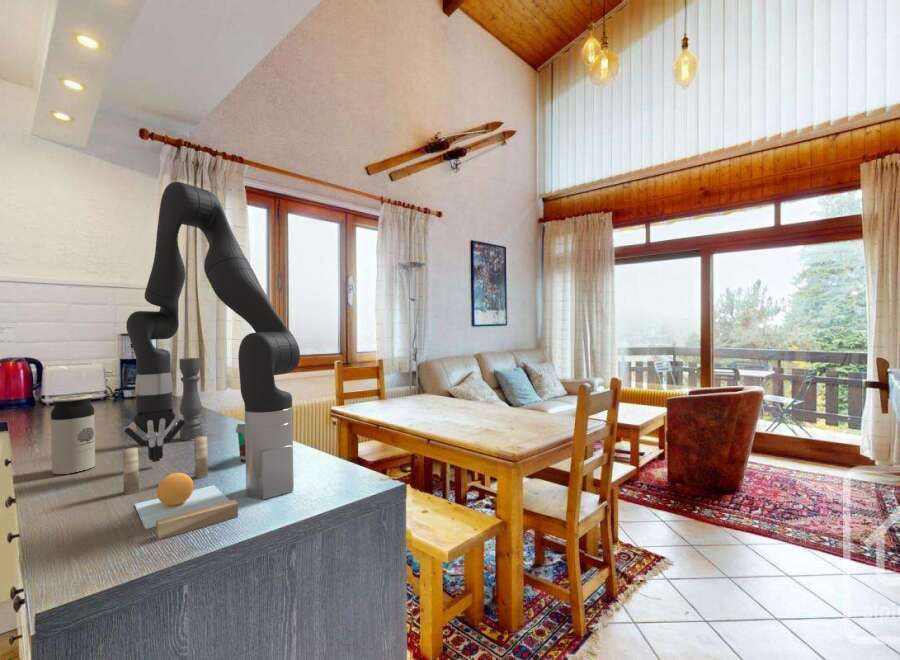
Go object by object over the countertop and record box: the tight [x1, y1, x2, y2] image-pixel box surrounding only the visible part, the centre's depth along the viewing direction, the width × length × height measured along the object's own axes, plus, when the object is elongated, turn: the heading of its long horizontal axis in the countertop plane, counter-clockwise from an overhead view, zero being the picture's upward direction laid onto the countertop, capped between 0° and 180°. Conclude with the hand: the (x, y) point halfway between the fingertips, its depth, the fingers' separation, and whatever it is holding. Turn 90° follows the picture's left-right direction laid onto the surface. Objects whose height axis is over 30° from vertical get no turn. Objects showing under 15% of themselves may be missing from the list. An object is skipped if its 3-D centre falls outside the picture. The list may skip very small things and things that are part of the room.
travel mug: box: [50, 394, 96, 475], centre depth 105 cm, size 8×8×18 cm
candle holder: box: [178, 357, 204, 441], centre depth 134 cm, size 6×6×25 cm
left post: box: [122, 446, 140, 495], centre depth 90 cm, size 3×3×9 cm
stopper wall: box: [155, 499, 239, 541], centre depth 74 cm, size 2×12×2 cm, turn 133°
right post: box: [193, 435, 209, 479], centre depth 99 cm, size 3×3×9 cm
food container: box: [235, 423, 246, 463], centre depth 113 cm, size 12×6×10 cm, turn 168°
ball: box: [156, 472, 195, 506], centre depth 83 cm, size 6×6×6 cm
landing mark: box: [134, 484, 231, 530], centre depth 83 cm, size 14×14×1 cm
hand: (155, 460), depth 106 cm, fingers closed
